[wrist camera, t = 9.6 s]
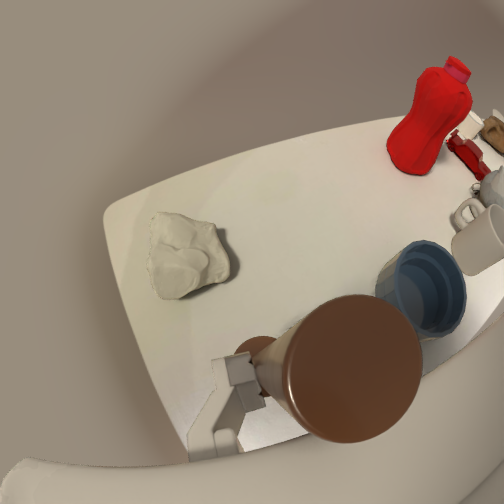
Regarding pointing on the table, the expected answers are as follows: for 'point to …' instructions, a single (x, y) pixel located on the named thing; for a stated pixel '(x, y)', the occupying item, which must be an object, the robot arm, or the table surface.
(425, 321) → the stir bowl
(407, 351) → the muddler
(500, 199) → the figurine
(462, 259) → the mug
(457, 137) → the toy car
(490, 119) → the bowl
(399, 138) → the water bottle
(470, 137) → the white tapered cup
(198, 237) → the decorative stone
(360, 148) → the table surface
